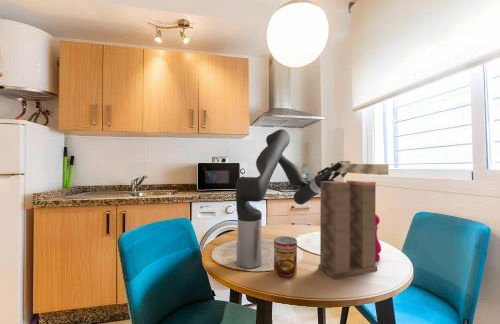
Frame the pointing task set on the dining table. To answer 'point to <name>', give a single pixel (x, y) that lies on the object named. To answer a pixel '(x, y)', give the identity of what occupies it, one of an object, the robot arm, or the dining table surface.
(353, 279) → the dining table surface
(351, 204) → the walnut rack
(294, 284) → the dining table surface
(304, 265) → the dining table surface
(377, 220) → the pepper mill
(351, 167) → the birch bar
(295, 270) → the canned food
